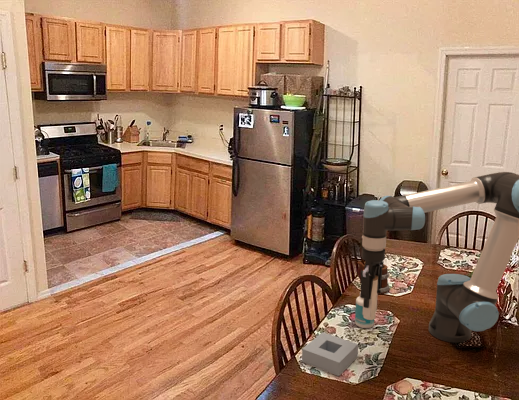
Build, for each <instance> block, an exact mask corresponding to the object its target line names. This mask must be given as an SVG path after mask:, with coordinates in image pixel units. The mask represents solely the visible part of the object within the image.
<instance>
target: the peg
mask: <svg viewBox="0 0 519 400" xmlns="http://www.w3.org/2000/svg"><path fill="white" fill-rule="evenodd" d="M369 276H370V275H369ZM377 285H378V276H377V275H375V279H373V286H372V293H371V298H372V307H371V317H368V316H365V315H363V317H364V318H365V319H367V320H374V321H375V319H376V313H377V311H376V300H377V301H378V297H377Z"/></svg>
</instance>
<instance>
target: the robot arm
mask: <svg viewBox="0 0 519 400" xmlns="http://www.w3.org/2000/svg"><path fill="white" fill-rule="evenodd" d="M473 203H476V204H478V205H480V204H481V205H482V204H486V203H488V204H489V203H491V204H495V206H494V209H493V211H494V213H495V215H496V217H495V219H494V221H493V224H492V227H491V229H490V231H489V233H488V236H487V239H486V241H485V243H484V246H483V249H482V251H481V254H480V256H479V258H478V261H477V262H476V264H475V268H474V270H473V273H472V275H471V277H469V276H467V275H465V274H459V273H444V274H441V275H439V277H438V279H437V282H436V297H435V306H434V313H433V315H432V317H431V318H430V321H429V322H428V323H429V324H428V332H429V333H430V335H431V336H433V337H435V338H436V339H438V340H441V341H444V342H446V343H447V342H448V343H452V344H455V343H456V344H457V342H462V343H465V342H464V341H466V342H468V341H470V340H469V339H471V338H472V332H484V331H486V330H489V329H491V328H493V327H494V325H496V323H498V322H497V321H498V319H499V315H500V312H499V311H498V307H497V306H496V305H497V302H498V300H499V294H498V293H497V289H498V287H499V286H500V285H499V284H501V283H500V282H501V280H502V277H503V276H504V273H505V271H506V269H507V266H508V264H509V261H510V259H511V257H512V255H513V253H514V250H515V248H516V246H517V243H518V241H519V174H518V173H514V172H510V171H501V172H493V173H488V174H484V175H478V176H475V177H472V178H471V179H470V181H465V182H460V183H456V184H452V185H451V184H450V185H446V186H442V187H437V188H434V189H433V188H432V189H428V190H424V191H418V192H414V193H409V194H404V195H400V196H399V195H398V196H392V195H384V196H382V197H380V199H379V200H378V199H377V200H376V199H375V200H374V199H372V200H368V201H366V202H365V204H364V208H363V213H362V216H363V217H362V218H363V220H362V221H363V223H362V236H361V239H362V241H361V242H362V243H361V246H362V247H361V255H360V256H361V259H362V260H364V261H365V264H364V265H365V267H364V269H365V270H363V271H362V270H361V283H360V292H361V293H360V292H359V296H360V297H361V298H363V315H365V316H368V317H371V307H372V298H371V293H372V286H373V279H375V275H377V276H378V285H377V298H378V293H381V291H380V290H379V289H381V280H382V268H383V264H385V263H384V260H385V258H386V249H385V248H386V247H387V245H386V244H387V231H416V230H421V229H423V228H424V226H425V223H426V214H425V213H430V212H434V211H440V210H444V209H448V208H452V207H458V206H463V205H468V204H473ZM369 275H370V276H369ZM377 310H378V299H377V300H376V312H377ZM467 340H468V341H467Z"/></svg>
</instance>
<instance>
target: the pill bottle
mask: <svg viewBox="0 0 519 400" xmlns="http://www.w3.org/2000/svg"><path fill="white" fill-rule="evenodd" d="M360 293H361V291H360V292H359V294H360ZM354 314H355V315H354V317H355V318H354V323H355V325H356V327H359V328H360V329H361V328H362V329H370V328H372V327H374V326H375V325H374V324H375V319H374V320H367V319H365V318H364V317H363V298H361V297H360V295H359V296H357V297H356V299H355V313H354Z"/></svg>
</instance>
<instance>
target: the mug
mask: <svg viewBox="0 0 519 400" xmlns="http://www.w3.org/2000/svg"><path fill="white" fill-rule="evenodd" d="M357 265H358V268H357V276H358V278H359V279H358V280H359V284H361V270H362V271H364V270H365V269H364V267H365V264H363V262H361V261H359V260H358V262H357ZM389 277H390V272H389V271H388V265H387V264H385V263H384V264H383V268H382V280H381V289H379V290H380V291H381V293H378V295H385V294H388V292H389V290H390V284H389V282H388V279H389Z"/></svg>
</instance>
